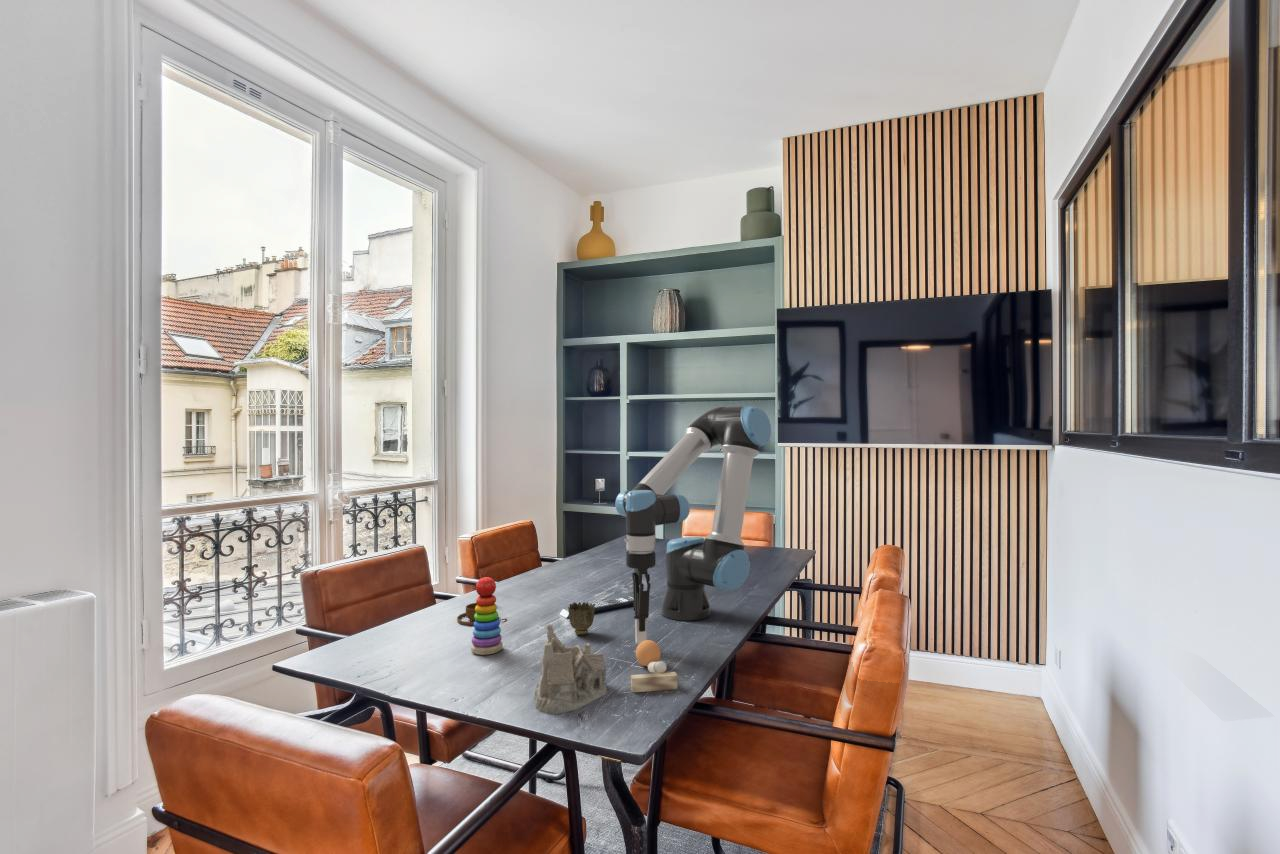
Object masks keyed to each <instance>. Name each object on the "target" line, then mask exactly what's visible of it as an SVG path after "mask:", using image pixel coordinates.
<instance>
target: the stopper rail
mask: <svg viewBox="0 0 1280 854" xmlns="http://www.w3.org/2000/svg"><path fill="white" fill-rule="evenodd" d="M677 689H678V674H677V672H676V671H669V672H666V671H665V672H663V673H640V674H631V675H630V690H631V693H632V694H633V693H641V692H655V691H671V690H677Z"/></svg>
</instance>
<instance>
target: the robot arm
mask: <svg viewBox="0 0 1280 854" xmlns="http://www.w3.org/2000/svg"><path fill="white" fill-rule="evenodd" d="M683 433H684V434H683V436H682V438H681V439H680V440H679V441H678V442H677V443H676V444H675V445H674V446H673V447H672V448H671V449H670V450H669V451H668V452H667V453H666V454H665V455H664V456H663V457H662V458H661V459H660V461H659V462H658V463H657V464H655V466H654V467H653V468H652V469H651V470H650V471H648V473H647V474H646V475H645V476H644V477H643V478H642V479H641V480H640V482H639V483H637V485H635V486H634V487H633V488H632V490H629V489H628V490H622V491H620V493H618V494H617V496H616V498H615V502H614V503H615V504H614V505H615V510H616V511H617V513H618V514H619V515H621V517H625V526H626V527H625V529H626V531H625V532H626V534H625V536H626V538H624V539H623V540H624V541H623V542H624V543H626V544H625V545H626V546H625V547H626V550H627V552H626V553H625V555H626V556H625V557H626V558H625V563H626V564H625V565H626V567H628V568H630V569H634V571H633V572H632V573H631V577H632V594H633V595H632V596H633V612H634V616H633V618H634V621H635V629H634V630H635V633H634V634H635V637H634V640H635V644H637V645H639V644H640V643H641V642H643V641H645V640H648V639H647V638H648V627H647V626H648V622H647V621H648V618H649V616H650V615H649V612H650V611H649V609H650V592H651V591H650V590H651V583H650V579H651V578H650V577H651V576H650V573H648V569H651V568H654V567H655V566H656V552H655V550H656V545H657V544H656V541H657V539H656V535H657V534H656V527H657V526H663V525H670V524H677V523H680V522H681V523H682V522H683V521H685V520H687V519H688V517H689V515H690V512H691V511H690V509H691V508H690V502H689V500H688V499H687V497H685V495H682V494H675V493H672V494H666V493H667V492H668V490H669V489H670V488H671V487H672V486H673V485H674V484H675V483H676V481H678V479H680V478H681V476H682V475H683V474H684V473H685V472H686V471H687V470H688V469H689V468H690V466H691V465H692V464H693V463H694V462H695V461H696V460H697V459H698V458H699V457H700V456H701V455H702V454H703V453H707V452H709V451H710V450H711V448H713V447H714V446H718V445H720V448H721V450H722V451H723V453H724V456H723V460H722V466H721V467H722V468H721V474H720V479H719V486H718V490H717V495H716V496H717V497H716V502H715V508H714V515H713V520H712V527H711V532H710V533H709V534H707V535H706V536H705V537H702V536H689V537H688V536H687V537H686V536H685V537H678V538H673V539H670V540H668V542H667V544H666V553H665V557H666V558H665V559H666V560H665V561H666V562H665V563H666V564H665V565H666V589H665V592H664V595H663V599H662V602H661V605H660V614H661V615H662V616H664V617H665V618H667V619H672V620H676V621H698V620H703V619H706V617H707V618H708V617H710V616H711V613H712V612H711V611H712V610H711V604H710V601H709V597H708V593H707V591H706V587H705V586H710V587H713V588H716V589H719V590H720V589H721V590H727V591H733V590H736V589H738V588H740V587H741V586H742V585H743V584H744V583H745V581H746V579H747V578H748V576H749V573H750V567H751V562H750V557H749V555H748V553H747V552H746V551H745V543H744V542H743V540H742V539H741V536H742V529H743V523H744V518H745V512H746V506H747V500H748V493H749V487H750V480H751V475H752V468H753V463H754V458H755V457H757V456H758V455H760V452H761V447H763V446H765V445H767V444H768V442H769V441H770V439H771V434H772V424H771V421H770V418H769V416H768V414H767V413H766V412H765V410H764V409H762V408H761V407H758V406H749V405H744V406H718V407H715V408H712V409H710V410H708V411H707V412H705V413H703V414H702V415H700V416H699V417H698V418H696V419H695V420H694V421H693V422H692V423H691V424H690V425H689V426H688V427H687V428H686V429H685V430H684V432H683ZM709 615H710V616H709Z"/></svg>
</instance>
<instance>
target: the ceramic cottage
mask: <svg viewBox="0 0 1280 854" xmlns="http://www.w3.org/2000/svg"><path fill="white" fill-rule="evenodd" d="M546 629H547V630H546V637H547V641H546V643H544V645H543V647H542V649H543V653H542V656H541V657H542V658H541V660H542V661H541V673H540V674H541V676H540V678H539V682H537V684H536V687H535V689H534V697H533V698H534V707H535V709H536V710H537V711H538V712H541V713H545V714H562V713H568V712H573V711H577V710H578V709H580V708H582V707H584V706H586V705H588V704H590V703H591V702H593V701H596V700H598V699H599V698H601V697H602V696H605V695H606V694H607V692H608V689H607V685H606V682H605V681H606V676H607V669H606V664H605V662H606V661H605V657H604V653H603V652H602V653H601V652H599V653H592V652H591V644H590V643H589V642H586V643H584V644H583V645H584V647H583V648H582V646H580V645H579V644H577V645H576V646H569V647H566V645H565V644H564V643H562V641H561V640H560V639H559V638H558V637H557V634H556V633H555V631H554V627H553V624H552V623H549V624H547V626H546Z"/></svg>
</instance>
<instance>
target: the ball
mask: <svg viewBox="0 0 1280 854" xmlns="http://www.w3.org/2000/svg"><path fill="white" fill-rule="evenodd" d="M661 653H662V652H661V649H660V646H659V645H658V643H656V642H655V641H653V640H650V639H647V640H645V641H643V642H641V643H640V644H637V647H636V650H635V658H636V660H637V662H638V663H639V664H640V665H642V666H644V667H647V668H648V664H649V663H650V662H657V661H660V658H661Z"/></svg>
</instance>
